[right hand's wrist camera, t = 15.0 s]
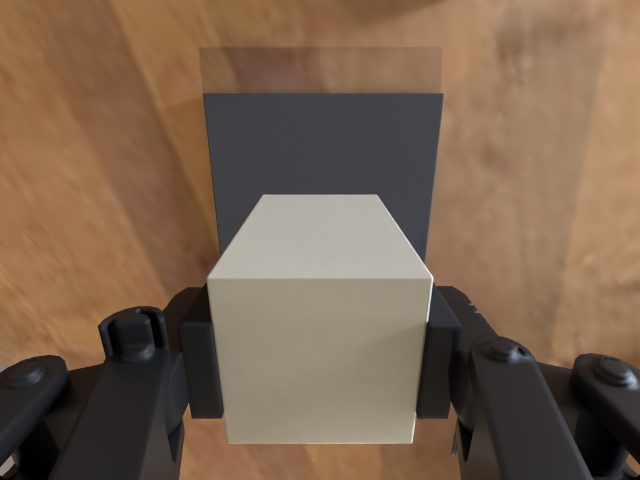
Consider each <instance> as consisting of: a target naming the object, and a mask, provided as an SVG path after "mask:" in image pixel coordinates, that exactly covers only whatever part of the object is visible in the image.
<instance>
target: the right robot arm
mask: <svg viewBox="0 0 640 480" xmlns="http://www.w3.org/2000/svg"><path fill="white" fill-rule="evenodd" d="M98 329H99V333H100V336H101V340H102V344H103V348H104V352H105V355H106V359H105V361H104V363H103V364H99V365H95V366H90V367H85V368H80V369H76V370H71V371H68V369H67V366H66V363H65V360H63V359H62V358H61V357H60V356H53V355H46V356H37V357H32V358H30V359H25V360H23V361H20V362H19V363H17V364H15V365H12V366H10V367H8V368H6V369H5V370H3V371H2V372H0V467H1V466H2V465H3V463H4V462H5V461H6V460H7V459H8V458H9V457H10V456H12V458H13V460H14V463H15V464H14V465H13V466H12V467H11V468H10V470H9V471H8V472H6V473H5V474H4V475H3V476H2V477H1V476H0V480H179V474H180V466H181V458H182V450H183V442H184V434H185V431H184V424H183V418H182V417H183V414H184V412H185V410H186V408H187V405H188V403H189V404H190V410H191V416H192V419H222V416H223V413H224V409H223V401H222V393H221V385H220V377H219V369H218V361H217V354H216V346H215V338H214V330H213V322H212V319H211V311H210V303H209V295H208V287H207V282H206V283H205V285H204V286H203V287H188V288H186V289H184V290H183V291H181V292H180V293H178V294H176V295H175V296H174V297H173V299H172V300H171V301H170V302H169V304H168V306H166V307H165V309H164V310H163V311H161V310H160V309H159V308H155V307H151V306H138V307H133V308H128V309H125V310H122V311H119V312H117V313H114V314H112V315H111V316H109V317H107V318H106V319H104V320H103V321H102V322H101V323H100V324H99V325H98ZM451 402H452V404H453V406H454V409H455V411H456V413H457V415H458V418H457V424H456V429H455V435H454V440H453V446H452V453H451V455H453V456H456V453H457V449H458V457H459V465H460V473H461V480H640V475H638V474H637V473H635V472H634V471H633V470H632V469H631V468H630V466H629V465H628V464H627V463H626V459H627V457H628V455H629V453H630V454H631V455H632V457H633V458H634V459H635V460H636V461H637V462H638V463H639V464H640V371H639V370H638V369H636V368H635V367H633V366H632V365H629V364H627V363H625V362H623V361H621V360H620V359H617V358H614V357H610V356H606V355H600V354H592V353H589V354H582V355H580V356H579V357H577V358H576V359H575V362H574V365H573V368H572V369H567V368H562V367H557V366H553V365H548V364H543V363H539V362H536V360H535V358H534V356H533V355H532V354H531V353H530V351H529V350H528V349H526V348H525V347H524V346H522V345H521V344H519V343H517V342H515V341H513V340H511V339H508V338H505V337H501V336H498V335H497V334H496V333H495V332H494V330H493V329H492V328H491V326H490V325H489V324H488V323H487V321H486V320H485V319H484V318H483V316H482V315H481V314H480V313H478V310H477V309H476V308H475V306H474V305H472V302H471V301H470V300H469V299H468V297H467V296H466V295H465V294H464V293H462V292H461V291H459V290H457V289H456V288H454V287H453V286H436V285H435V284H434V282H433V285H432V293H431V301H430V308H429V316H428V322H427V328H426V336H425V344H424V351H423V359H422V367H421V375H420V383H419V391H418V399H417V407H416V414H417V417H418V419H448V415H449V409H450V403H451Z"/></svg>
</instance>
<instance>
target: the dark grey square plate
mask: <svg viewBox="0 0 640 480" xmlns="http://www.w3.org/2000/svg"><path fill="white" fill-rule="evenodd" d="M203 97H204V106H205V115H206V125H207V134H208V143H209V153H210V162H211V171H212V181H213V190H214V199H215V209H216V218H217V227H218V237H219V246H220V255H222V254H223V253H224V251H225V250H226V248H227V247H228V245H229V244H230V242H231V241H232V239H233V238H234V236H235V235H236V233H237V232H238V231H239V229H240V228H241V226H242V225H243V223H244V222H245V220H246V219H247V217H248V216H249V214H250V213H251V211H252V210H253V208H254V207H255V206H256V204H257V203H258V201H259V200H260V198H261V197H262V195H377V196H378V197H379V199H380V200H381V202H382V203H383V204H384V206H385V207H386V209H387V210H388V212H389V213H390V215H391V216H392V218H393V219H394V221H395V222H396V224H397V225H398V227H399V228H400V229H401V231H402V232H403V234H404V235H405V237H406V238H407V240H408V241H409V243H410V244H411V246H412V247H413V249H414V250H415V252H416V253H417V254H418V256H419V257H420V259H421V260H422V262H423V263H424V265H425V257H426V248H427V239H428V230H429V222H430V213H431V204H432V195H433V186H434V178H435V169H436V160H437V151H438V143H439V134H440V125H441V116H442V107H443V99H444V94H203Z"/></svg>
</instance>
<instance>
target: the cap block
mask: <svg viewBox="0 0 640 480" xmlns="http://www.w3.org/2000/svg"><path fill="white" fill-rule="evenodd" d="M206 279H207V287H208V295H209V303H210V311H211V319H212V322H213V330H214V338H215V346H216V354H217V361H218V369H219V377H220V385H221V393H222V401H223V409H224V420H225V428H226V436H227V442H228V443H229V444H410V443H412V441H413V434H414V426H415V418H416V407H417V399H418V391H419V383H420V375H421V367H422V359H423V351H424V344H425V336H426V328H427V322H428V316H429V308H430V301H431V293H432V285H433V277H432V275H431V274H430V272H429V271H428V269H427V268H426V266H425V265H424V263H423V262H422V260H421V259H420V257H419V256H418V254H417V253H416V252H415V250H414V249H413V247H412V246H411V244H410V243H409V241H408V240H407V238H406V237H405V235H404V234H403V232H402V231H401V229H400V228H399V227H398V225H397V224H396V222H395V221H394V219H393V218H392V216H391V215H390V213H389V212H388V210H387V209H386V207H385V206H384V204H383V203H382V202H381V200H380V199H379V197H378V196H377V195H262V197H261V198H260V200H259V201H258V203H257V204H256V206H255V207H254V208H253V210H252V211H251V213H250V214H249V216H248V217H247V219H246V220H245V222H244V223H243V225H242V226H241V228H240V229H239V231H238V232H237V233H236V235H235V236H234V238H233V239H232V241H231V242H230V244H229V245H228V247H227V248H226V250H225V251H224V253H223V254H222V255H221V257H220V258H219V260H218V261H217V263H216V264H215V266H214V267H213V269H212V270H211V272H210V273H209V275H208V276H207V278H206Z"/></svg>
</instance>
